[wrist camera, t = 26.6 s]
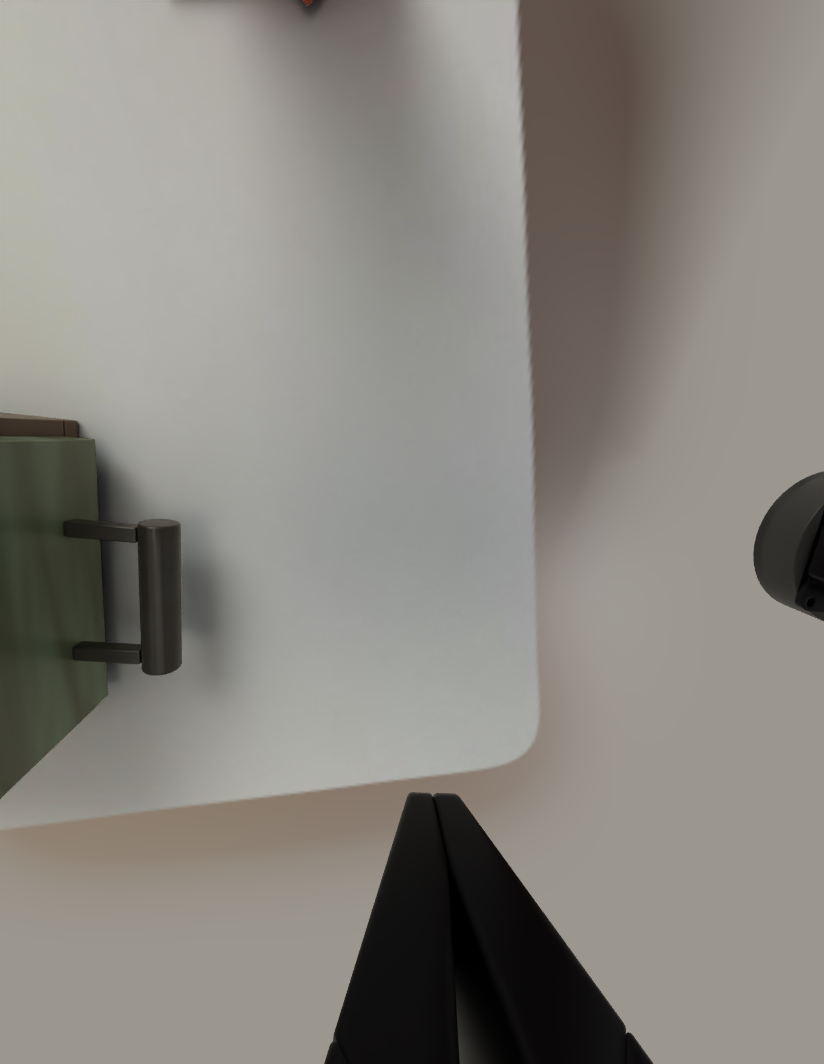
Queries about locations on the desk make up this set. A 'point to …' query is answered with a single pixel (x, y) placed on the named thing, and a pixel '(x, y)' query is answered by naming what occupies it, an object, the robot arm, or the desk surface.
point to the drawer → (68, 596)
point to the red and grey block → (307, 2)
